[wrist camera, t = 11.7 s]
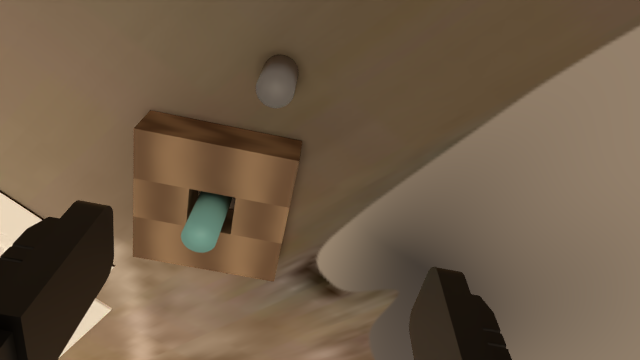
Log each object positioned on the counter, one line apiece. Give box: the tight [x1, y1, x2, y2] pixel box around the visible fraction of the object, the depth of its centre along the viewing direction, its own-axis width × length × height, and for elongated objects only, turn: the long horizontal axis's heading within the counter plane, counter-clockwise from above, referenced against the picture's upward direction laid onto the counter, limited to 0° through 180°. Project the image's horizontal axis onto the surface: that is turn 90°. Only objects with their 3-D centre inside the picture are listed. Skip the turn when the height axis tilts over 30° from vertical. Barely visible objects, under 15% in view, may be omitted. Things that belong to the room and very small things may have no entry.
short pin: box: [256, 55, 298, 108], centre depth 38 cm, size 3×3×4 cm
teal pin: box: [181, 191, 233, 253], centre depth 43 cm, size 3×3×8 cm
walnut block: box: [133, 110, 302, 281], centre depth 45 cm, size 14×14×4 cm
